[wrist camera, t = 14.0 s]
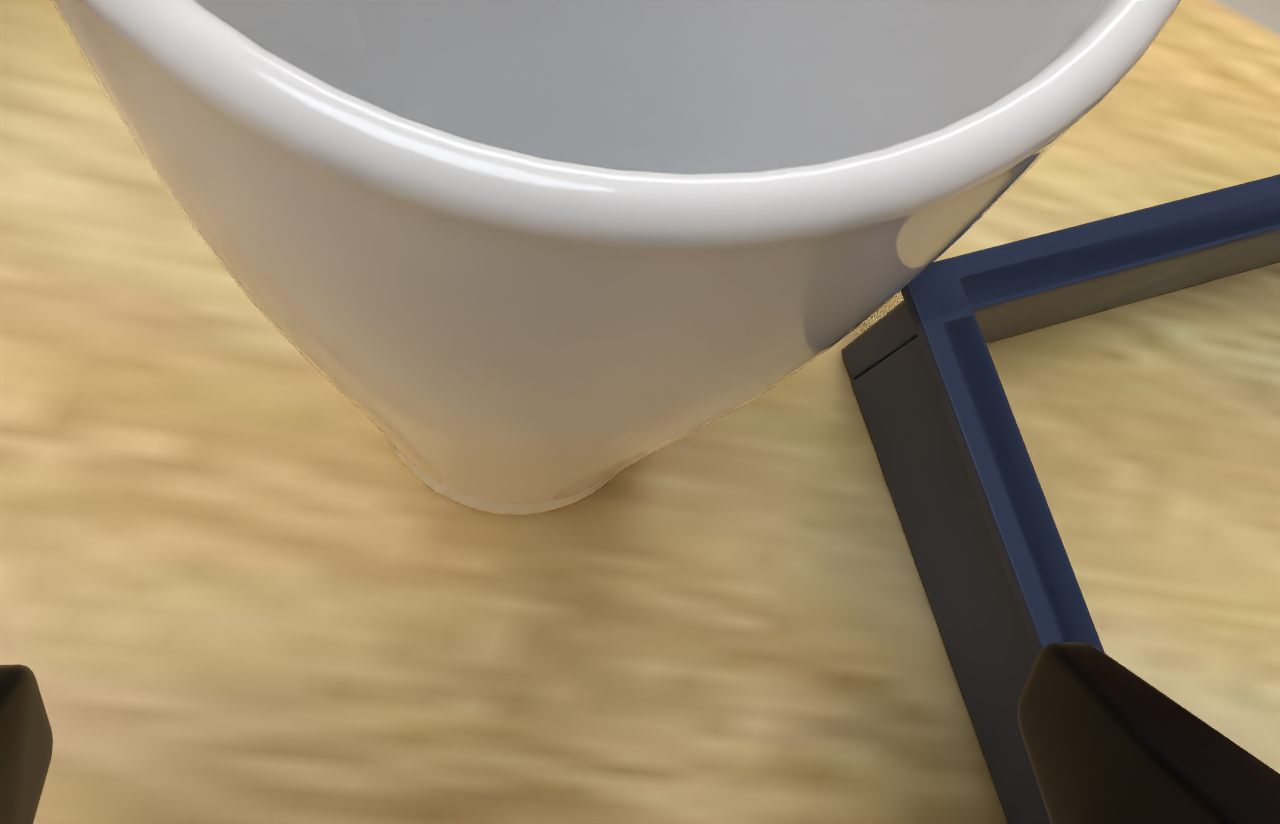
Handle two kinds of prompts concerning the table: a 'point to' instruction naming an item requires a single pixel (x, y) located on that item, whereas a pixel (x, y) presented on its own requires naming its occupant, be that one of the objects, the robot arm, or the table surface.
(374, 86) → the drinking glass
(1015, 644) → the dark blue square tray
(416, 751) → the table surface
